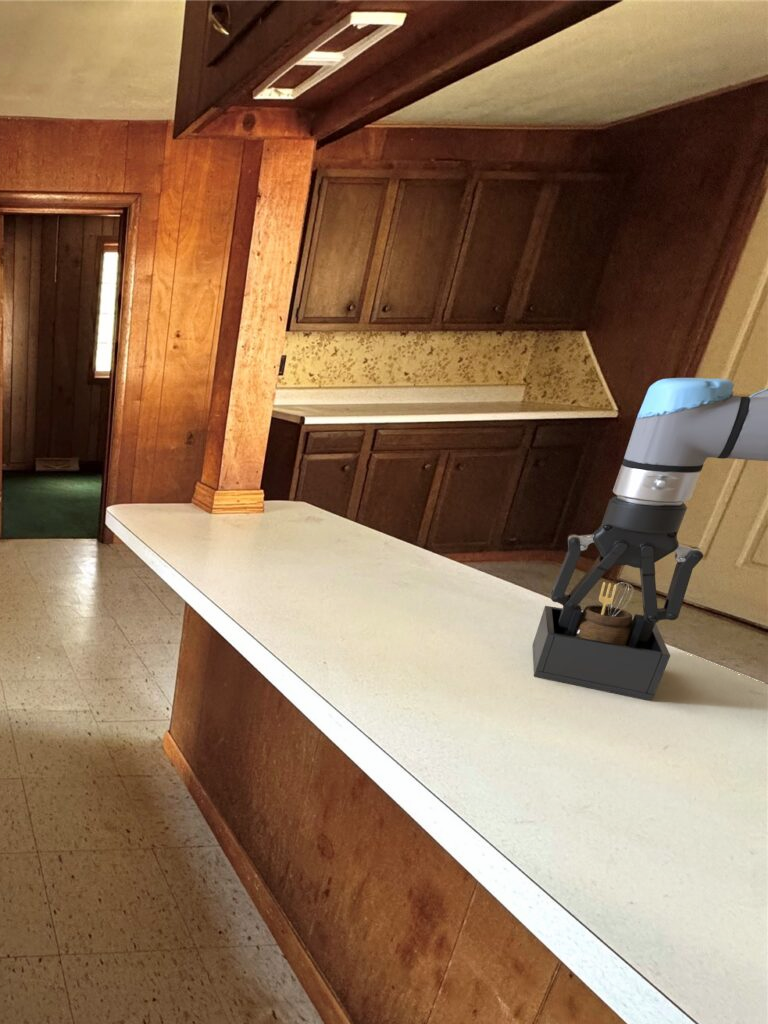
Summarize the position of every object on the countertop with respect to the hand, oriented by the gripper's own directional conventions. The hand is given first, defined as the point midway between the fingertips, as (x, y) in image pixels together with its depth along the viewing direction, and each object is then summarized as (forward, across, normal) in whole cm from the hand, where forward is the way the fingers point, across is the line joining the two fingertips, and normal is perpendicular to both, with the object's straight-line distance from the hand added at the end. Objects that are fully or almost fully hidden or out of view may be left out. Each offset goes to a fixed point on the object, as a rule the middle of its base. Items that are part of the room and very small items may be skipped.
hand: (593, 652), depth 97 cm
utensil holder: (+1, 0, 0) cm, 1 cm away
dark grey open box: (+3, 0, 0) cm, 3 cm away
